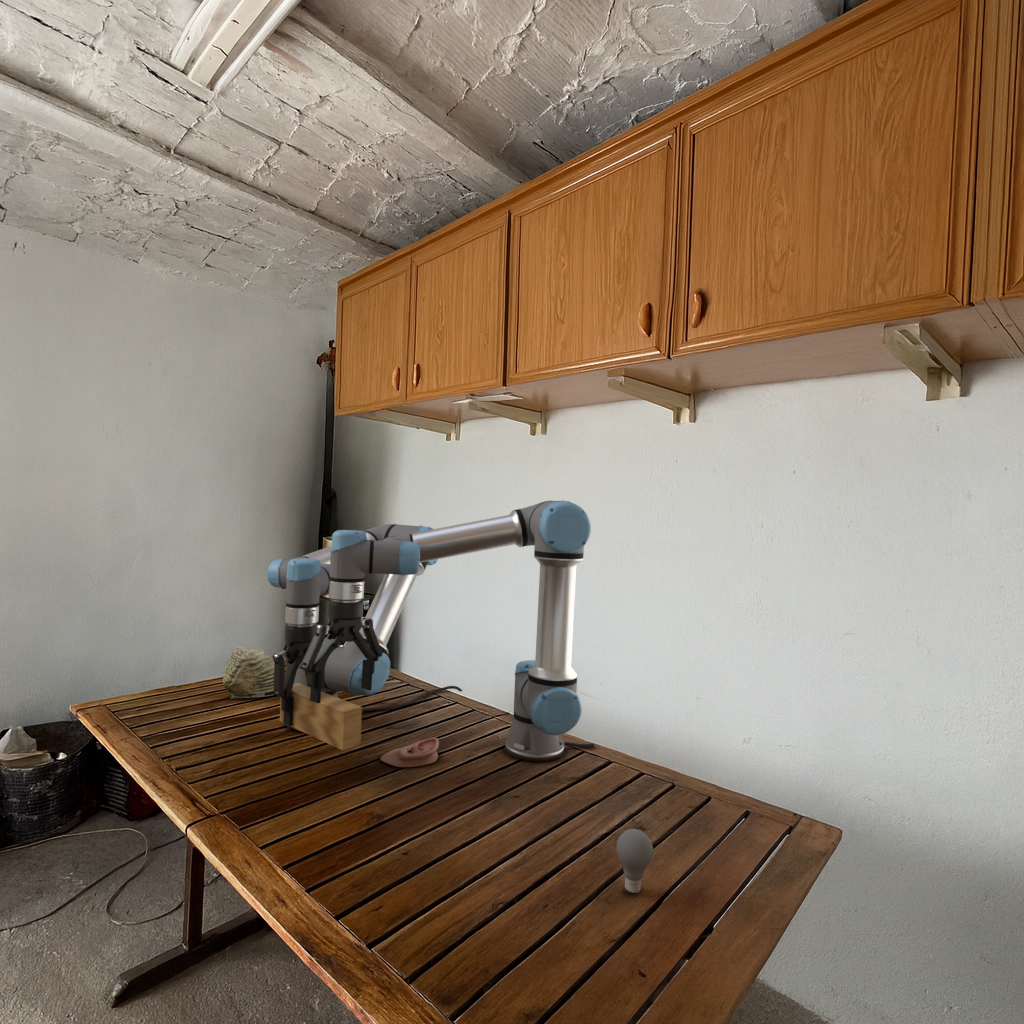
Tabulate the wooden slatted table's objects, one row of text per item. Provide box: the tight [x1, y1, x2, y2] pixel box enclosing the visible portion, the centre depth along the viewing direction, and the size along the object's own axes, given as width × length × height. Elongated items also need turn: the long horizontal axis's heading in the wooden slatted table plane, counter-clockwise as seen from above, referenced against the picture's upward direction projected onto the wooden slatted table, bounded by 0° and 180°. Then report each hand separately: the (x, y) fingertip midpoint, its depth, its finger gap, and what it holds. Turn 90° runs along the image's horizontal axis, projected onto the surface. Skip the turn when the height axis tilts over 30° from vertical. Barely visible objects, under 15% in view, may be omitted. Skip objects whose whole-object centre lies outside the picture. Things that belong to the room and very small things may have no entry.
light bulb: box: [615, 828, 654, 894], centre depth 106 cm, size 6×6×10 cm
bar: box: [279, 683, 363, 751], centre depth 146 cm, size 25×5×8 cm, turn 51°
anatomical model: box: [379, 737, 440, 768], centre depth 155 cm, size 13×4×12 cm
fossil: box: [222, 646, 275, 699], centre depth 198 cm, size 9×18×15 cm, turn 132°
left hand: (298, 720), depth 151 cm, fingers closed on bar, 5 cm apart
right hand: (341, 695), depth 141 cm, fingers open, 13 cm apart
